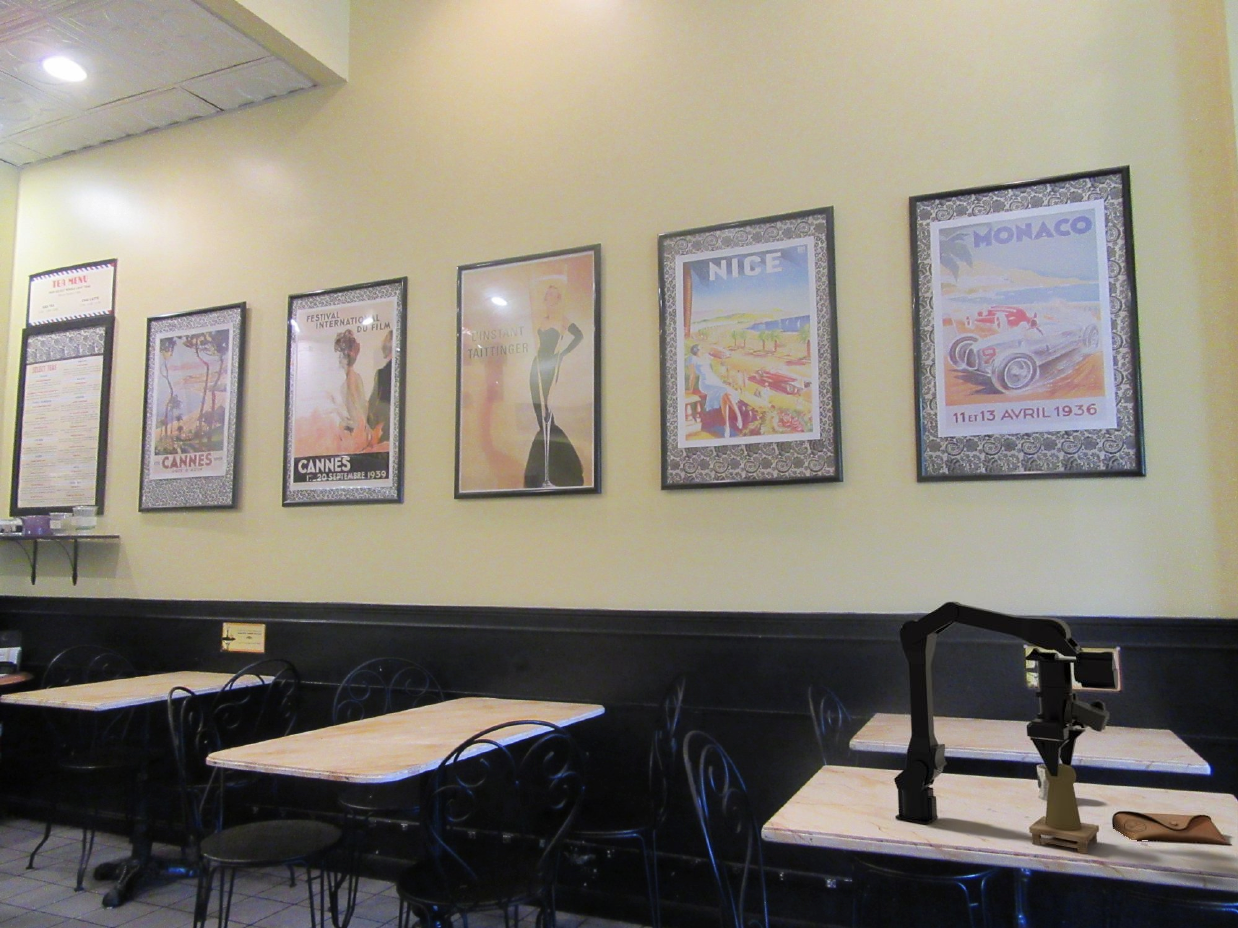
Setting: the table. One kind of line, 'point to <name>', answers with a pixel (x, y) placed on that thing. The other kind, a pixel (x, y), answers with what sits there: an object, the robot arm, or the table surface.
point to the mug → (1042, 782)
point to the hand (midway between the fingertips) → (1060, 771)
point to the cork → (1062, 800)
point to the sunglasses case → (1167, 828)
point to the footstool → (1064, 835)
